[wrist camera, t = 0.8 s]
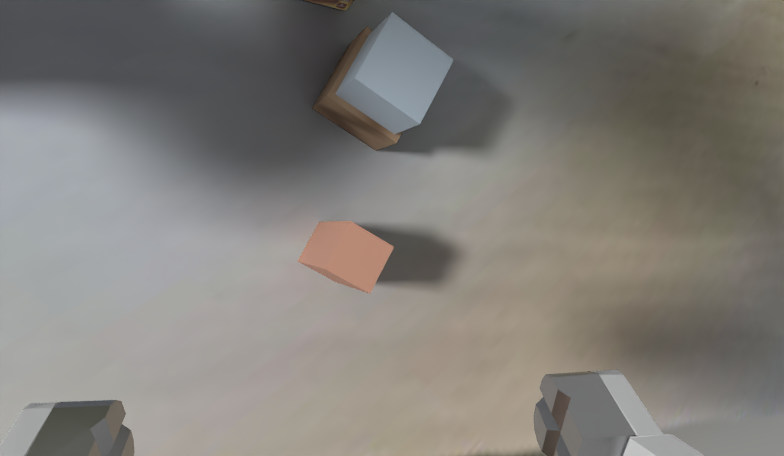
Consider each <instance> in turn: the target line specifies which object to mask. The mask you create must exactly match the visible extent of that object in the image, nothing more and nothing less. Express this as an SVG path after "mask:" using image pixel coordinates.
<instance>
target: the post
mask: <svg viewBox="0 0 784 456" xmlns="http://www.w3.org/2000/svg"><path fill="white" fill-rule="evenodd" d="M393 248H394V247H393V246H392V245H390V244H388V243H387V242H385V241H383V240H382V239H380V238H378V237H377V236H375V235H373V234H372V233H370V232H368V231H366V230H365V229H363V228H361V227H360V226H358V225H356V224H355V223H353V222H351V221H334V222H319V223H318V225H317V227H316V229H315V230H314V232H313V234H312V236H311V238H310V240H309V241H308V243H307V245H306V247H305V249H304V251H303V252H302V254H301V256H300V258H299V260H298V262H300V263H302V264H304V265H305V266H307V267H309V268H311V269H313V270H315V271H316V272H318V273H320V274H322V275H324V276H326V277H328V278H329V279H331V280H333V281H335V282H338V283H340V284H343V285H346V286H349V287H352V288H355V289H358V290H361V291H364V292H367V293H371V291H372V289H373V287H374V285H375V283H376V281H377V279H378V277H379V275H380V273H381V271H382V269H383V267H384V266H385V264H386V262H387V260H388V258H389V256H390V254H391V252H392V250H393Z"/></svg>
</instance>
